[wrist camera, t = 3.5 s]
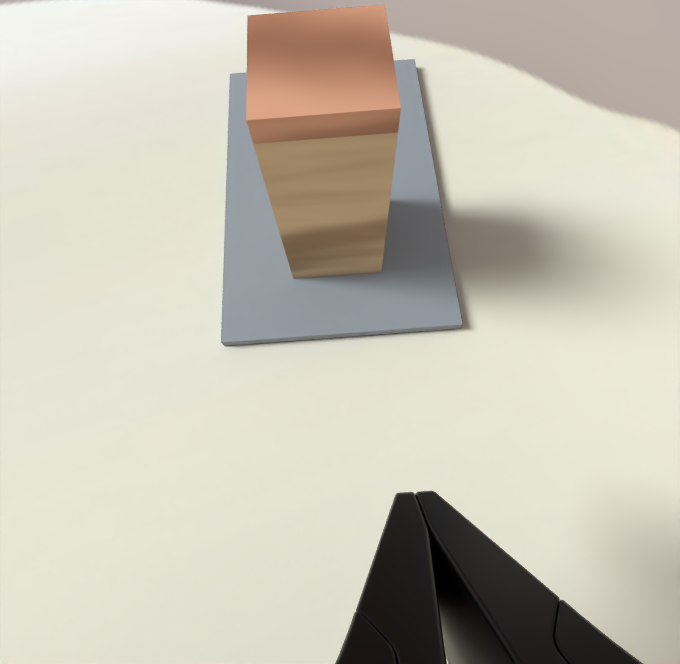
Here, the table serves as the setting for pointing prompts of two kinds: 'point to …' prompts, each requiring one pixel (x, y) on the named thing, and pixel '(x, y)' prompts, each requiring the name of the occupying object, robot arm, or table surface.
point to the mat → (342, 290)
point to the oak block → (325, 133)
